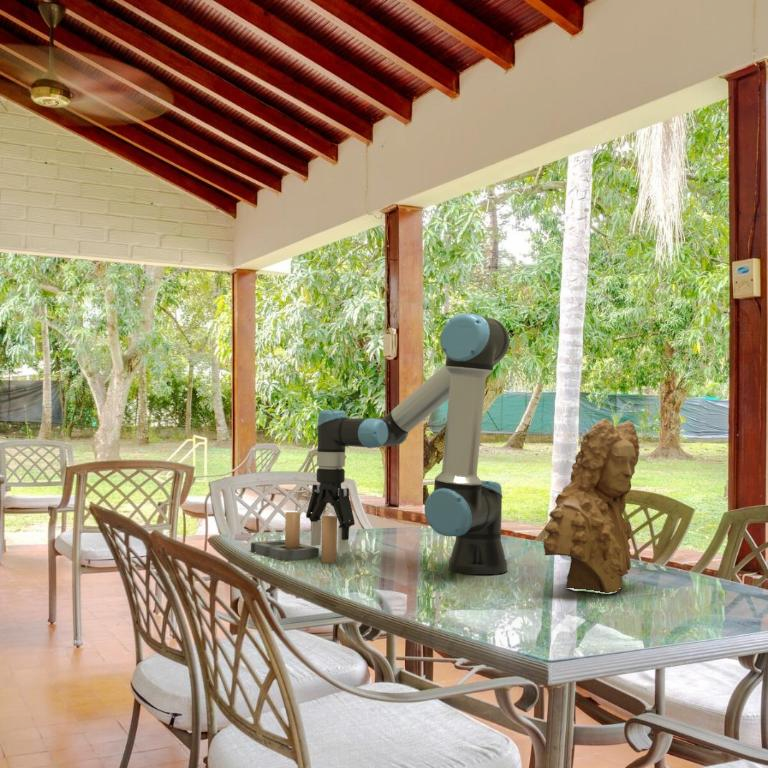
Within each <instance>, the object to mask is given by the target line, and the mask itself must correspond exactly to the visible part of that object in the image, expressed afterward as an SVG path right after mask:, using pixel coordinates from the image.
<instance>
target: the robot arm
mask: <svg viewBox="0 0 768 768" xmlns="http://www.w3.org/2000/svg"><path fill="white" fill-rule="evenodd" d="M439 341H440V346H441V349H442V351H443V352H444V354H445V356H446V358H445V364H444V365H443V366H442V367H440V369H438V370H437V371H436V372H434V373H433V375H431V376H430V377H429V378H428V379H427V380H425V381H424V382H423V383H422V384H421V385H420V386H418V387H417V388H416V389H415V390H414V391H412V392H411V393H410V394H409V395H408V396H407V397H406V398H405V399H404V400H402V401H401V402H400V403H399V404H398V405H396V406H395V407H394V408H393V409H392V410H391V411H390V412H389V413H388V414H386V415H385V416H384V417H382V418H371V417H369V418H359V417H357V418H356V417H355V418H353V417H352V418H350V417H347V412H346V411H345V410H333V409H332V410H329V409H328V410H326V409H324V410H320V411H319V413H318V420H317V426H316V428H317V451H316V466H317V467H318V468H317V469H316V482H317V483H318V484H312V489H311V496H310V498H309V501H308V502H309V504H308V507H307V510H306V514H305V517H306V519H309V521H310V546H312V547H316V546H322V517H321V516H322V515H323V513H324V511H325V509H326V507H327V504H330V505H331V506H332V507H333V510H334V513H335V515H336V516H337V522H338V523H339V525H337V553H338V554H340V553H348V552H349V539H350V527H352V526H354V525H355V517H354V513H353V508H352V503H351V499H350V489H349V488H348V487H346V488H344V487H343V488H342V484H343V483H345V477H346V475H345V474H346V473H345V472H346V470H345V469H344V468H345V465H346V464H345V463H346V461H345V459H346V447H358V448H367V449H375V448H381V447H396V446H399V445H401V444H403V443H404V442H405V441H406V440H407V438H408V435H409V432H411V431H412V430H414V428H416V427H417V426H418V425H419V424H421V423H422V422H423V421H424V420H425V419H426V418H428V416H430V415H431V414H433V413H434V412H435V411H436V410H437V409H439V408H440V407H441V406H442V405H443V404H444V403H446V402H447V401H448V402H447V403H448V404H447V411H446V412H447V413H446V424H445V425H446V426H445V434H444V446H443V456H442V463H441V464H442V467H441V472H440V473H439V474H438V475H436V476H435V477H434V485H433V491H432V492H431V493H430V494H429V495H428V497H427V498H426V500H425V503H424V516H425V519H426V521H427V523H428V525H429V526H430V527H431V528H432V530H433V531H434V532H435V533H437V534H439V535H440V536H444V537H455V540H454V544H453V547H452V550H451V556H450V557H449V559H448V570H450V571H451V572H455V573H459V574H466V575H474V574H494V575H499V574H498V573H502V574H505V573H507V572H508V561H507V559H506V556H505V551H504V547H503V544H502V512H503V511H502V508H503V507H502V505H503V503H502V502H503V501H502V499H503V494H502V486H501V484H500V483H499V482H496V481H491V480H481V479H480V478H479V477H478V466H479V453H480V443H481V432H482V423H483V411H484V403H485V402H484V401H485V392H486V380H487V377H489V376H490V375H491V374H492V373H493V372H494V367H495V366H496V365H497V364H499V362H500V361H502V359H504V358H505V356H506V355H507V353H508V350H509V347H510V335H509V331H508V330H507V328H506V327H505V325H503V324H502V323H501V322H500V321H499V320H496V319H495V318H491V317H486V316H482V315H481V314H478V313H468V312H467V313H460V314H456V315H454V316H453V317H451V318H450V319H449V320H448V321H447V322H446V323H445V324H444V326H443V328H442V331H441V333H440V340H439ZM343 467H344V468H343ZM506 571H507V572H506ZM504 572H505V573H504Z"/></svg>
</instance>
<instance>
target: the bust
mask: <svg viewBox="0 0 768 768" xmlns="http://www.w3.org/2000/svg"><path fill="white" fill-rule="evenodd" d="M582 438H583V439H582V441H581V442H580V447H579V448H580V450H579V451H578V453H577V454H576V455H575V463H573V464H572V466H571V469H572V471H571V472H570V482H569V484H568V485H566V486H565V487H563V489H562V492H561V493H558V494H557V496H556V498H555V505H556V506H555V507H554V508H553V510H551V511H550V512H549V514H548V516H549V517H550V518H551V521H550V522H548V523H547V524H546V525H545V526H544V527H545V528H544V531H545V532H547V534H546V539H545V540H544V541H543V549H544V556H564V557H565V556H566V557H570V566H569V570H568V573H567V576H566V587H565V589H566V588H574V589H586V590H594V591H600V592H605V593H609V592H615V591H618V590H619V588H622V589H623V577H624V576H625V575H628V574H629V572H628V571H630V570H631V567H632V562H631V551H630V549H631V545H630V543H629V540H630V539H632V537H633V532H632V525H631V524H630V522H629V521H625V518H624V515H623V514H624V512H625V509H626V507H627V505H626V497H627V495H628V494H629V493H630V491H631V488H632V481H631V480H632V478H633V476H634V474H635V473H636V471H635V469H636V468H635V467H636V465H637V464H638V462H639V455H640V442H639V436H638V434H637V430H636V428H635V425H634V423H633V422H632V421H631V420H630V419H628V420H625V421H624V422H621V423H618V424H616V425H615V426H614V423H613V422H611V421H610V420H609V419H608V418H607V417H605V418H601V419H600V421H598V422H595V423H594V424H593V426H592V427H590V429H588V431H587V432H586V433H585V434H584V435H583V437H582ZM619 591H620V590H619Z"/></svg>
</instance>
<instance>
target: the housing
mask: <svg viewBox="0 0 768 768" xmlns="http://www.w3.org/2000/svg"><path fill="white" fill-rule="evenodd" d="M251 551H252V552H251ZM250 552H251V553H254V552H256V553H255V554H257V553H259V554H258V555H261V554H262V556H264V555H266V556H265V557H268V556H270V557H269V558H271V557H273V558H272V559H275V558H277V559H276V560H278V559H280V560H279V561H282V560H284V561H283V562H289V561H288V560H291V561H299V560H298V559H300V560H307V559H306V558H309V559H317V558H316V557H320V548H319V547H316V546H311V545H307V544H303V543H300V546H299V549H292V550H288V549H285V539H279V540H267V541H257V542H256V541H255V542H250Z"/></svg>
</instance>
